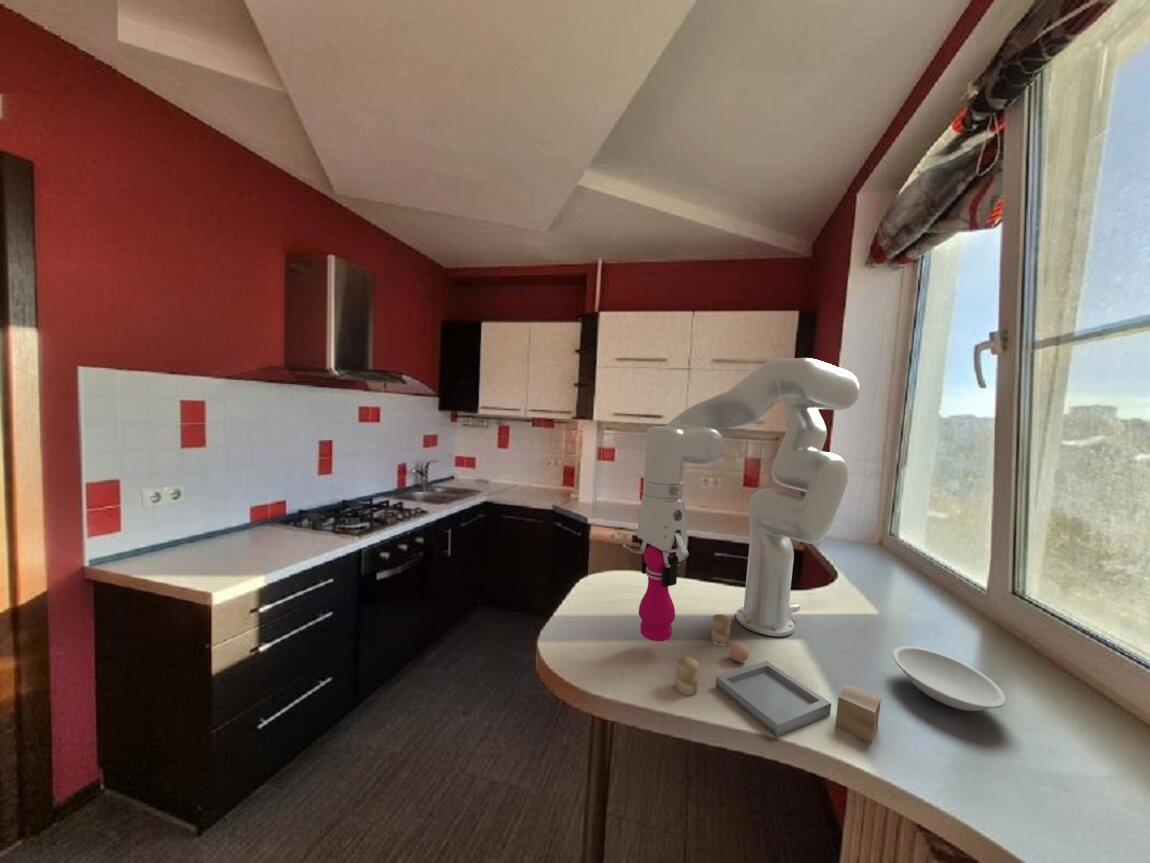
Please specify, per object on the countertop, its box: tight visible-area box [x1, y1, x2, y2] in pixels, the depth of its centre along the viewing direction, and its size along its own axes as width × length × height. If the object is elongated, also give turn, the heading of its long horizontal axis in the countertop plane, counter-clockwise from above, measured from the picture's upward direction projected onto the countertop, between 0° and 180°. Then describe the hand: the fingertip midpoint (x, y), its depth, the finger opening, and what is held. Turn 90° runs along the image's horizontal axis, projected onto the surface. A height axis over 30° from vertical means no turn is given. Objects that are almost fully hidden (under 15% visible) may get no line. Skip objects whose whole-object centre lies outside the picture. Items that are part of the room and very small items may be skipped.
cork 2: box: [710, 614, 732, 646], centre depth 97 cm, size 4×4×5 cm
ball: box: [729, 641, 750, 663], centre depth 90 cm, size 4×4×4 cm
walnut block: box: [834, 683, 882, 744], centre depth 73 cm, size 5×5×5 cm
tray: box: [714, 660, 832, 738], centre depth 79 cm, size 13×13×2 cm
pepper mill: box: [638, 545, 676, 642], centre depth 91 cm, size 7×7×20 cm
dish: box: [892, 645, 1007, 712], centre depth 82 cm, size 18×14×5 cm
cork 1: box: [675, 656, 699, 697], centre depth 80 cm, size 4×4×5 cm
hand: (658, 577), depth 90 cm, fingers closed on pepper mill, 5 cm apart
